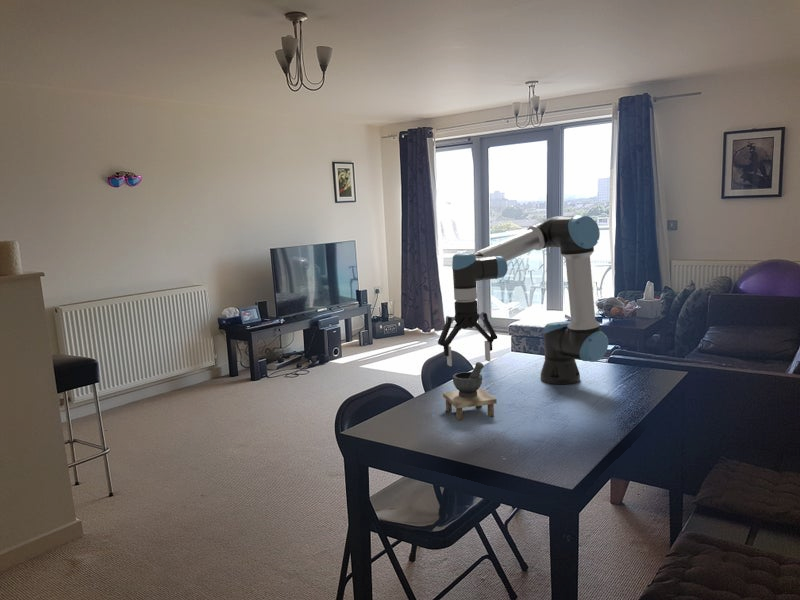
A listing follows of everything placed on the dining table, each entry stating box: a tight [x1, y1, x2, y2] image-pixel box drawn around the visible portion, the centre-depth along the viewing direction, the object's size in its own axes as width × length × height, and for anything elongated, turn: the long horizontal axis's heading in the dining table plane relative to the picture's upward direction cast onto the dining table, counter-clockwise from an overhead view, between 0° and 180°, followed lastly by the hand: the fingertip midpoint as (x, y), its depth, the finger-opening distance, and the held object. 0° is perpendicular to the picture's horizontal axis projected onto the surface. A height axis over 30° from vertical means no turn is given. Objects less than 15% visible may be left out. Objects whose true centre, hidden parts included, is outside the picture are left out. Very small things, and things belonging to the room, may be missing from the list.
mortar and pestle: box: [452, 361, 485, 398], centre depth 200 cm, size 11×9×12 cm
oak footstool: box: [442, 387, 498, 422], centre depth 202 cm, size 14×14×6 cm
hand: (468, 362), depth 200 cm, fingers open, 13 cm apart
